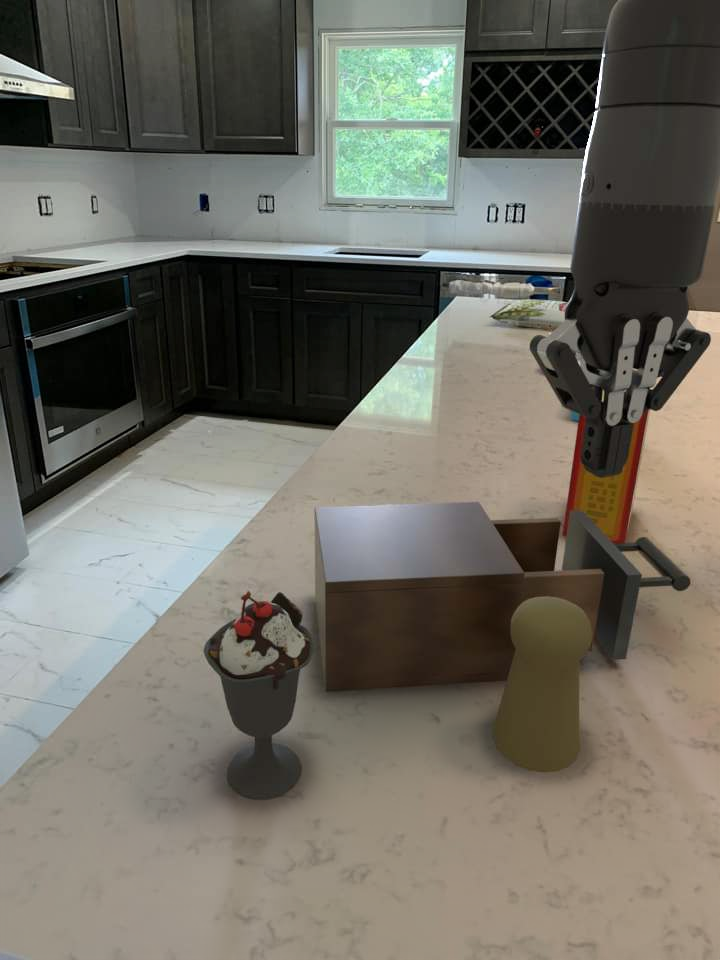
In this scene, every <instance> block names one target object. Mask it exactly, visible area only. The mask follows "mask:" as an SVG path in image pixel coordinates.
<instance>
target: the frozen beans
mask: <svg viewBox="0 0 720 960" xmlns="http://www.w3.org/2000/svg"><path fill="white" fill-rule="evenodd" d="M568 303H569V301H567V302H566V301H560V300H547V299H532V298H531V299H530V298H529V299H528V298H527V299H526V298H525V299H520V300H517V301H513V302H512V303H511V302H509V303H507V304H506V305H504V306H502V307H501V308H500V309H499V310H497V311H495V312H494V313H493V314H491V315H489V318H492V319H493V320H495V321H497V322H499V323H502V324H507V325H513V326H520V327H525V328H526V327H527V328H534V329H546V330H555V329H557V328H558V327H559V326H560V325H561V324H562V323H563V322H564V321H565V309H566V306H567V304H568Z"/></svg>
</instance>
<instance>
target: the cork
mask: <svg viewBox="0 0 720 960" xmlns="http://www.w3.org/2000/svg"><path fill="white" fill-rule="evenodd" d="M511 639H512V642H513V644H514V646H515V648H516V650H515V654H514V657H513V661H512V664H511V668H510V671H509V675H508V679H507V681H506V682H505V685H504V690H503V693H502V697H501V699H500V704H499V707H498V710H497V714H496V717H495V721H494V725H493V729H492V740H493V743H494V745H495V748H496V749H497V750H498V752H499V753H500V754H501V755H502V756H503V757H504V758H505V759H507V761H509V762H510V763H512V764H514V765H516V766H517V767H520V768H523V769H526V770H528V771H533V772H539V773H552V772H559V771H561V770H564V769H567V768H569V767H570V766H572V764H574V763H575V762H576V761H577V760H578V757H579V754H580V661H582V659H583V658H585V657H586V655H587V653H588V652H587V651H588V649H589V646H590V644H591V640H592V631H591V624H590V621H589V619H588V617H587V615H586V614H585V613H584V611H583V610H582V609H581V608H579V607H578V606H577V605H575V604H573V603H571V602H569V601H567V600H564V599H560V598H557V597H549V596H545V597H535V598H531V599H528V600H526V601H524V602H523V603H522V604H521V605H520V606H519V607H518V608H517V609H516V611H515V612H514V614H513V617H512V619H511Z"/></svg>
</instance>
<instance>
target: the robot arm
mask: <svg viewBox="0 0 720 960" xmlns="http://www.w3.org/2000/svg"><path fill="white" fill-rule="evenodd" d="M601 55H602V57H601V62H600V70H599V77H598V78H599V80H598V85H597V94H596V101H595V109H596V110H595V111H594V115H593V120H592V125H591V129H590V133H589V135H588V136H589V138H588V141H587V143H586V144H587V145H586V149H585V154H584V160H583V167H582V174H581V180H580V181H581V182H580V189H579V190H580V191H579V196H578V197H579V198H578V205H577V212H576V213H577V214H576V221H575V228H574V229H575V230H574V237H573V245H572V252H571V260H570V267H569V268H570V272H571V274H572V275H571V276H572V277H573V282H574V289H573V291H572V295H571V297H570V299H569V300H568V302H569V303H568V304H567V306H566V309H565V321H564V322H563V323H562V324H561V325H560V326H559V327H558V328H557V329H553V331H551V334H550V335H549V334H548V335H547V336H544V335H543V334H542V335H541V334H537V335H535V336H534V337H532V339H531V340H530V342H529V351H530V352H531V354H532V356H533V358H534V359H535V361H536V363H537V365H538V367H539V368H540V370H541V372H542V373H543V375H544V377H545V379H546V380H547V382H548V384H549V386H550V388H551V389H552V391H553V393H554V394H555V396H556V397H557V399H558V401H559V402H560V404H561V406H562V407H563V408H564V409H566V410H569V411H571V412H572V411H573V412H575V413H578V414H580V415H582V416H584V418H585V427H584V434H583V440H582V442H583V443H582V447H581V448H582V449H581V454H580V458H581V463H582V464H583V465H584V468H585V469H586V470H587V471H588V472H590V473H592V474H594V475H596V476H598V477H599V478H603V477H609V476H615V475H620V474H621V473H622V469H623V466H624V465H625V463H626V461H627V459H628V455H629V449H630V444H631V438H632V432H633V426H634V423H635V422H637V421H638V420H639V419H640V418H641V416H642V413H644V412H646V411H648V410H650V411H654V412H659V411H660V410H661V409H663V407H664V406H665V405H666V404H667V402H668V401H669V399H670V398H671V397H672V396H673V394H674V393H675V392H676V390H677V389H678V387H679V386H680V385H681V383H682V382H683V381H684V380H685V379H686V377H687V376H688V374H689V373H690V371H692V369H693V368H694V367H695V365H696V364H697V363H698V361H699V360H700V359H701V357H702V356H703V354H704V353H705V352H706V350H707V349H708V348H709V346H710V344H711V341H712V336H711V334H710V333H709V332H707V331H704V330H703V331H702V330H699V329H697V328H695V326H694V325H693V324H692V323H691V321H690V320H689V319H688V315H689V311H690V302H689V298H688V287H690V286H693V285H695V284H696V283H698V282H699V281H700V279H701V278H702V275H703V271H704V265H705V260H706V255H707V250H708V245H709V239H710V234H711V229H712V226H713V225H712V224H713V219H714V212H715V209H716V203H717V199H718V195H719V194H718V193H719V189H720V188H719V187H720V0H617V1H616V2H615V4H614V5H613V7H612V8H611V11H610V14H609V17H608V20H607V25H606V30H605V35H604V41H603V47H602V54H601ZM578 361H580V362H581V364H580V365H579V363H578ZM658 378H660V379H659V380H658ZM657 380H658V382H657ZM653 386H654V389H653V390H652V389H649V388H652V387H653ZM625 390H626V391H625ZM603 391H604V399H603V401H602V395H603Z"/></svg>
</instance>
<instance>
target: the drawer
mask: <svg viewBox="0 0 720 960" xmlns="http://www.w3.org/2000/svg"><path fill="white" fill-rule="evenodd" d="M490 520H491V522H492V523H493V525H494V526H495V528H496V529H497V531H498V533H499V534H500V536H501V537H502V539H503V540H504V542H505V543H506V545H507V547H508V548H509V550H510V551H511V553H512V554H513V556H514V557H515V559H516V561H517V562H518V564H519V565H520V567H521V568H522V570H523V572H524V573H525V574H524V583H523V592H522V601H521V604H522V603H523V602H524V601H526V600H528V599H531V598H535V597H545V596H549V597H557V598H560V599H564V600H567V601H569V602H571V603H573V604H575V605H577V606H578V607H579V608H581V609H582V610H583V611H584V613H585V614H586V615H587V617H588V619H589V621H590V624H591V631H592V640H591V644H590V646H589V649H588V651H587V653H588V652H589V653H591V652H592V651H593V646H594V639H595V638H596V640H597V641H598V642H599V644H600V645H601V647H602V648H603V649H604V650H605V652H606V653H607V656H609V657H610V659H611V660H612V661H618V660H626V659H627V655H628V650H629V646H630V639H631V634H632V629H633V624H634V618H635V615H636V614H635V613H636V610H637V609H636V608H637V603H638V597H639V593H640V588H655V587H671V588H673V590H675V592H685V590H687V589H689V587H690V585H691V577H689V576H688V575H687V574H686V573H685V572H684V571H683V570H682V568H680V567H679V566H678V565H677V564H676V563H675V562H674V561H673V560H672V559H671V558H669V556H668V555H667V554H666V553H664V551H662V550H661V549H660V548H659V547H658V545H656V543H654V542H653V541H652V540H651V539H650V538H649V537H647V536H641V537H639V538H637V539H636V540H635V542H625V543H612V542H611V541H610V540H609V538H608V537H607V536H606V535H605V534H604V533H603V532H602V531H601V530H600V529H599V528H598V527H597V526H596V524H595V523H594V522H593V521H592V520H591V519H590V518H589V517H588V516H587V515H586V514H585V513H584V512H583V511H582V510H579V511H570V515H569V522H568V530H567V536H565V537H566V538H565V544H564V553H563V559H562V566H561V570H555V567H556V561H557V560H556V559H557V555H558V546H559V538H560V531H561V523H562V521H561V519H560V518H558V517H541V518H517V519H515V518H514V519H513V518H512V519H490ZM623 552H624V553H625V552H637V553H638V554H639V555H640V556H641V557H642V558H643V559H644V560H645V561H646V562H647V563H648V564H649V565H650V566H651V567H652V568H653V569H654V570H655V571H656V573H658V574H659V575H660V576H651V577H650V576H649V577H642V576H643V574H642V573H641V572H640V570H638V568H637V567H636V566H635V565H634V564H633V563H632V562H631V561H630V560H629V559H628V557H627V556H626V555H625V554H624V553H623Z"/></svg>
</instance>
